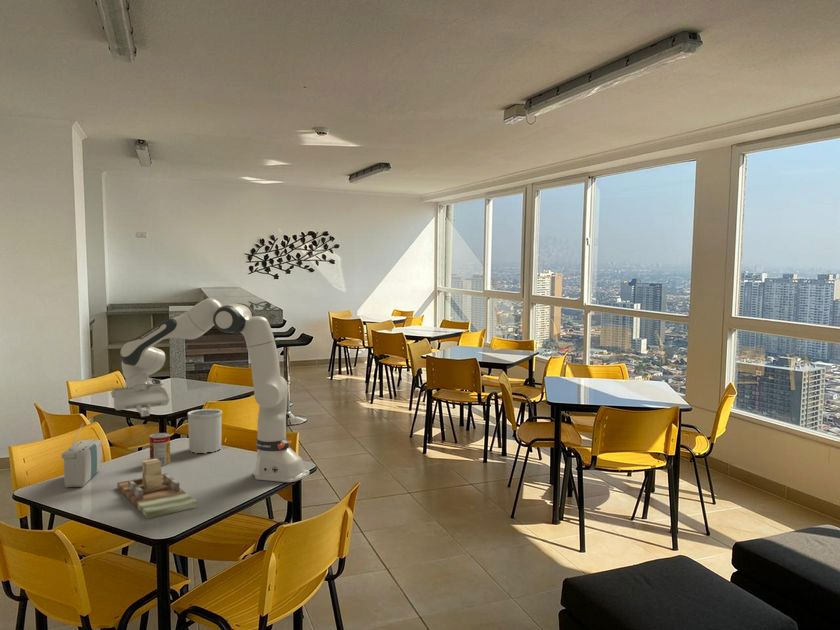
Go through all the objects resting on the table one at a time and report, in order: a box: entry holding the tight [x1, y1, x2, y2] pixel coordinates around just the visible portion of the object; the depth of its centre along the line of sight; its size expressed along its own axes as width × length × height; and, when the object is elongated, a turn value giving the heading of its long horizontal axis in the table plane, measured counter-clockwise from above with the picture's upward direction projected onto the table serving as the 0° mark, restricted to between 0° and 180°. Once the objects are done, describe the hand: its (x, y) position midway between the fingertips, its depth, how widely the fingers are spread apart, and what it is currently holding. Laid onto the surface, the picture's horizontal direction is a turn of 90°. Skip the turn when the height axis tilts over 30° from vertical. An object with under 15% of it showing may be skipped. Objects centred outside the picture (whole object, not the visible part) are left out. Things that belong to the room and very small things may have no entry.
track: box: [116, 472, 198, 519], centre depth 214 cm, size 37×16×5 cm, turn 40°
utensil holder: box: [187, 408, 223, 454], centre depth 275 cm, size 15×15×18 cm
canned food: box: [149, 432, 171, 467], centre depth 254 cm, size 8×8×12 cm
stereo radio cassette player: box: [61, 423, 103, 488], centre depth 232 cm, size 21×8×20 cm, turn 12°
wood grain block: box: [138, 459, 167, 493], centre depth 217 cm, size 8×8×10 cm
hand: (145, 415), depth 235 cm, fingers closed
